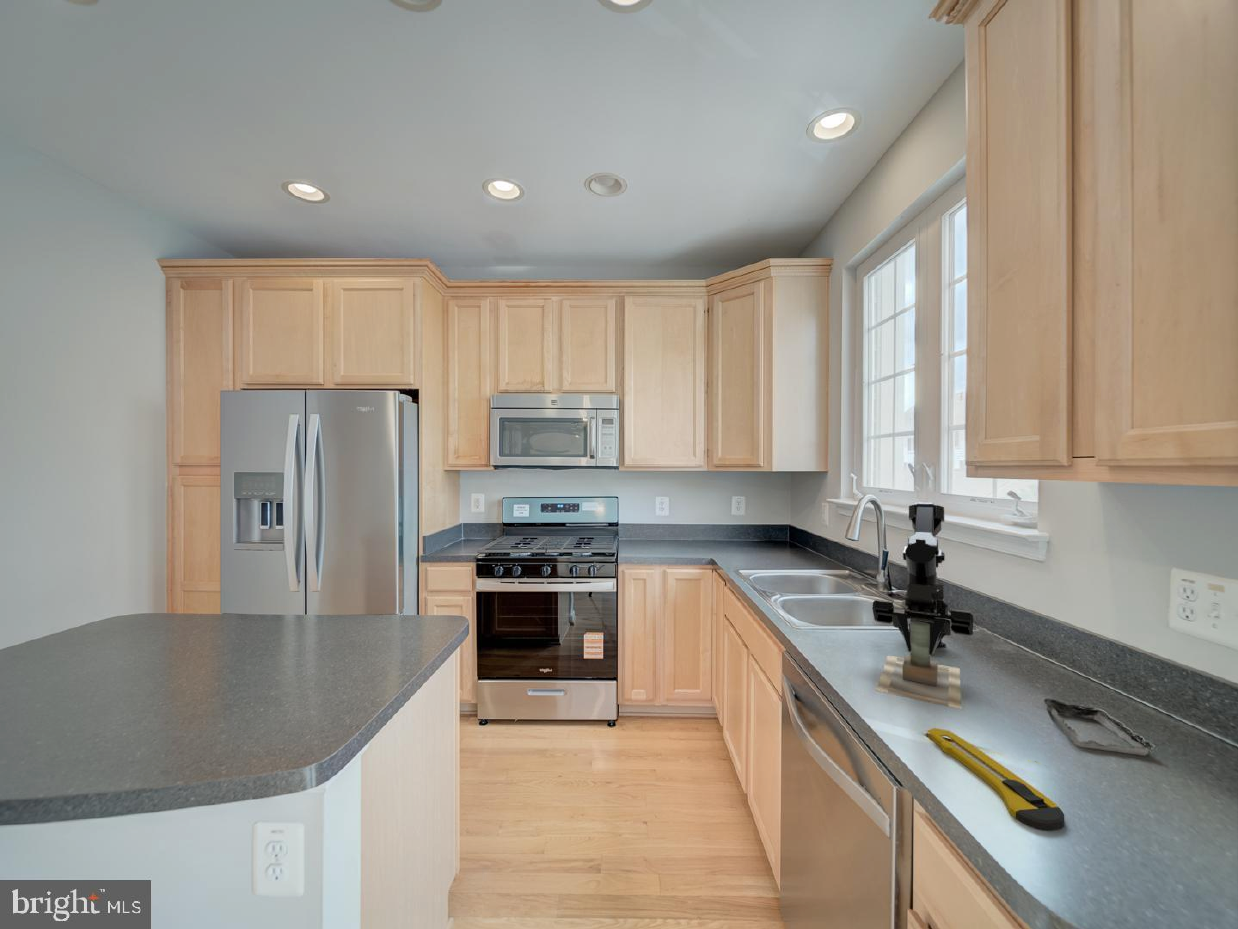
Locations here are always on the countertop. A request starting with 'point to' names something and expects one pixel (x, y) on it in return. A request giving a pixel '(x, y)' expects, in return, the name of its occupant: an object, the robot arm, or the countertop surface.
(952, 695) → the wooden frame
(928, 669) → the grey-green cylinder
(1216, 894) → the countertop surface
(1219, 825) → the countertop surface
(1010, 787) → the utility knife
